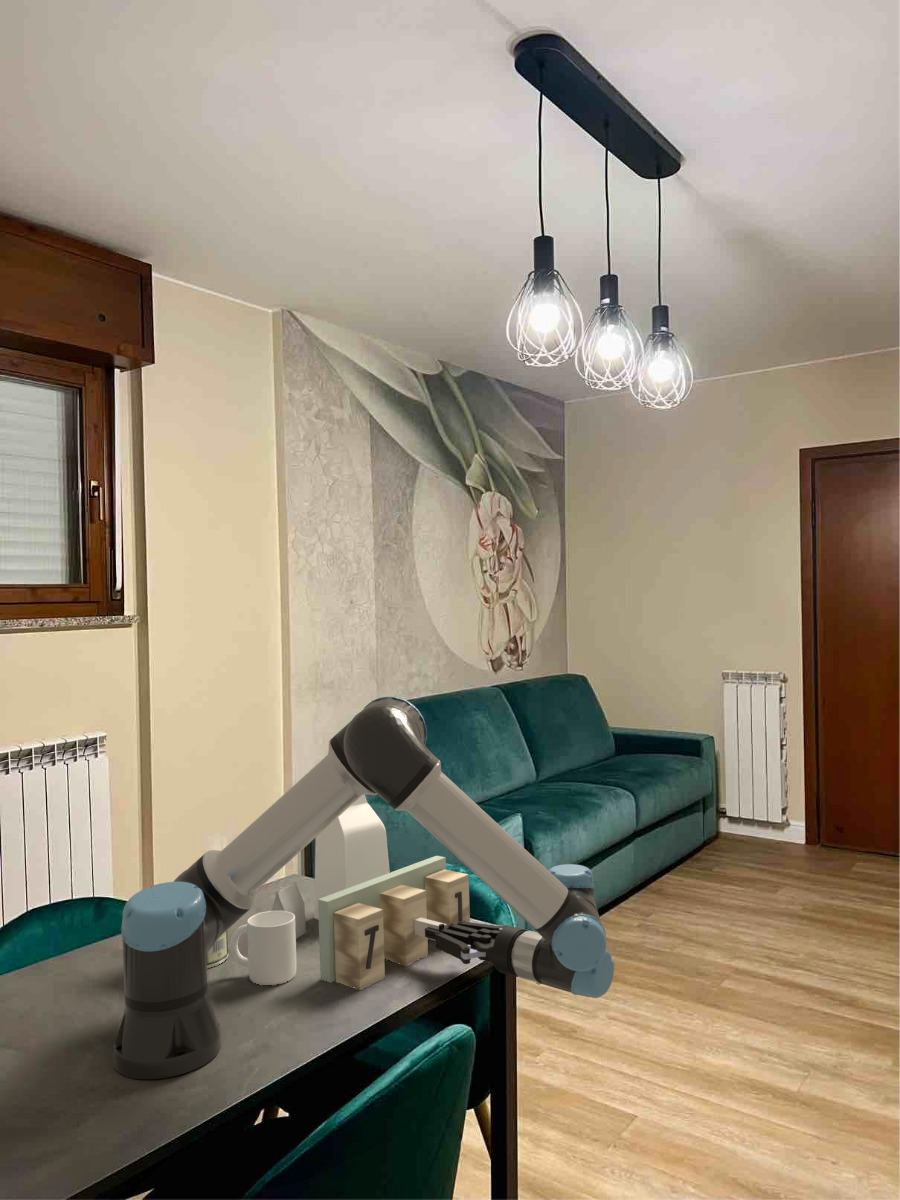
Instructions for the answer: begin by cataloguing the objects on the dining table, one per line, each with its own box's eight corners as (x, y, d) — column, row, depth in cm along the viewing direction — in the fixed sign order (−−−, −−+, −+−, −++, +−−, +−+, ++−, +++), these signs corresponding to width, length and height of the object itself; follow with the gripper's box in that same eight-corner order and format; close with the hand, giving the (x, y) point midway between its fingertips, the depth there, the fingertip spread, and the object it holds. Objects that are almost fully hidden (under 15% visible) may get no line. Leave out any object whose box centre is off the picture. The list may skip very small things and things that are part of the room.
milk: (346, 931, 180) (342, 801, 180) (314, 918, 189) (310, 793, 189) (393, 916, 188) (389, 791, 188) (360, 903, 197) (356, 784, 197)
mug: (221, 984, 157) (219, 924, 157) (242, 965, 165) (240, 908, 165) (285, 988, 155) (283, 928, 155) (303, 968, 163) (302, 911, 163)
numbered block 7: (386, 978, 157) (383, 909, 157) (361, 990, 153) (359, 919, 153) (360, 970, 161) (358, 902, 161) (335, 981, 157) (333, 912, 157)
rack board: (447, 927, 181) (445, 857, 181) (330, 982, 156) (327, 901, 156) (438, 925, 182) (436, 855, 182) (320, 979, 158) (318, 899, 158)
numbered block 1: (471, 936, 176) (469, 874, 176) (451, 946, 171) (449, 882, 171) (446, 929, 180) (444, 869, 180) (426, 939, 175) (425, 877, 175)
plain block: (428, 955, 167) (425, 890, 167) (406, 966, 162) (404, 899, 162) (403, 948, 171) (401, 884, 171) (382, 958, 166) (379, 893, 166)
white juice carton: (305, 932, 181) (303, 882, 181) (287, 945, 174) (285, 893, 174) (289, 930, 182) (287, 881, 182) (271, 943, 176) (269, 891, 176)
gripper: (500, 990, 144) (393, 958, 160) (546, 963, 154) (441, 935, 170) (498, 943, 144) (391, 915, 160) (544, 919, 154) (439, 895, 170)
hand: (417, 925), depth 165 cm, fingers closed
